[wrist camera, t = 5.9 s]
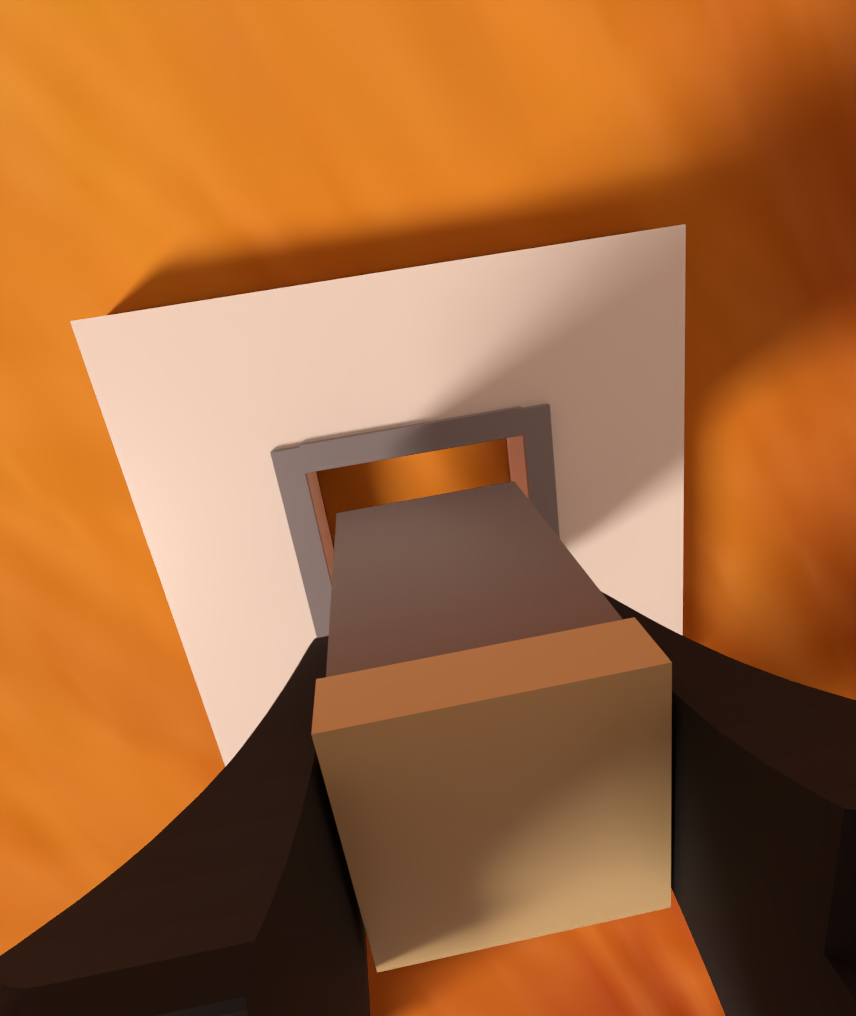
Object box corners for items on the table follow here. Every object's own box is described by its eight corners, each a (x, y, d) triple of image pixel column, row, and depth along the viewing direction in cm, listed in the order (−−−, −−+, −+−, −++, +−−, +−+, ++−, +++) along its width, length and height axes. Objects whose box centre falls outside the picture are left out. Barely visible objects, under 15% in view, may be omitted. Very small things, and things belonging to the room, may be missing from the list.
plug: (533, 635, 15) (671, 907, 9) (366, 667, 15) (377, 971, 8) (517, 476, 14) (671, 662, 7) (330, 509, 13) (310, 734, 7)
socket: (653, 671, 21) (685, 714, 19) (247, 750, 20) (235, 804, 18) (646, 229, 16) (690, 223, 14) (105, 316, 15) (65, 321, 13)
